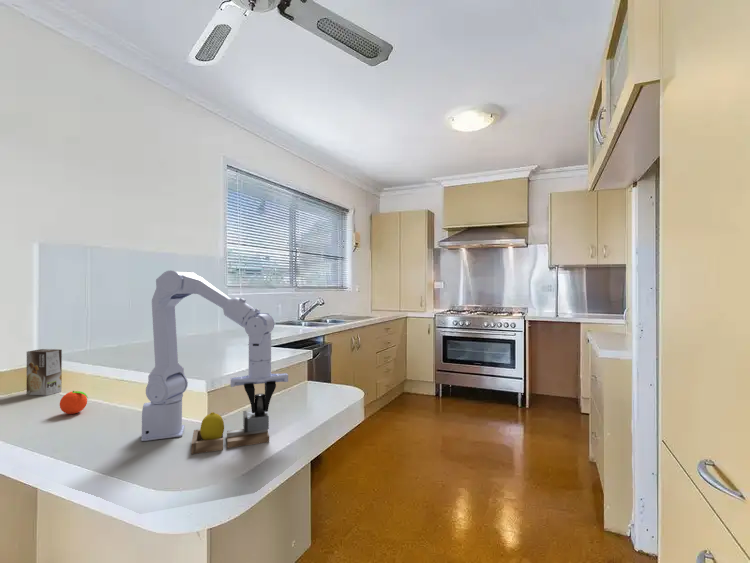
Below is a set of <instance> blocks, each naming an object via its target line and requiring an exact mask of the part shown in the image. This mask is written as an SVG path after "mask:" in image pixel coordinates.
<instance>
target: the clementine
mask: <svg viewBox="0 0 750 563" xmlns="http://www.w3.org/2000/svg"><path fill="white" fill-rule="evenodd" d="M88 399H89V397H88V395H87V394H86V393H85V392H84V391H78V390H72V391H69V392H67V393H66V394H64V395H63V396H62V397H61V399H60V401H59V408H60V411H62V412H63V413H64V414H68V415H75V414H78V413H80V412H81V411H83V410H84V409H85V408H86V406H87V405H88Z"/></svg>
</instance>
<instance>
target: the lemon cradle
mask: <svg viewBox="0 0 750 563" xmlns="http://www.w3.org/2000/svg"><path fill="white" fill-rule="evenodd" d="M190 444H191V450H190V451H191V453H190V454H191V455H197V454H203V453H210V452H217V451H223V450H224V434H223V435H222V437H221V438H219V439H212V440H203V438H202V436H201V432H200V429H194V430H193V434H192V439H191V443H190Z"/></svg>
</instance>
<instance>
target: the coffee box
mask: <svg viewBox="0 0 750 563" xmlns="http://www.w3.org/2000/svg"><path fill="white" fill-rule="evenodd" d="M62 353H63V351H62V349H56V348H54V349H52V348H42V349H40V348H39V349H34V350H28V351H26V395H27V396H50V395H53V394H57V393H61V392H62V391H63V390H62V388H63V387H62V385H63V384H62V375H63V374H62V368H63V367H62V366H63V362H62V361H63V360H62V357H63V354H62Z"/></svg>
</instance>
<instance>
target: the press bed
mask: <svg viewBox="0 0 750 563" xmlns="http://www.w3.org/2000/svg"><path fill="white" fill-rule="evenodd" d="M226 443H227V444H226V445H227V449H229V448H237V447H243V446H244V447H245V446H251V445H259V444H265V443H270V434H269V429H267V430H259V431H251V432H246V433H244V428H240V429H239V428H238V429H230V430H226Z"/></svg>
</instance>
